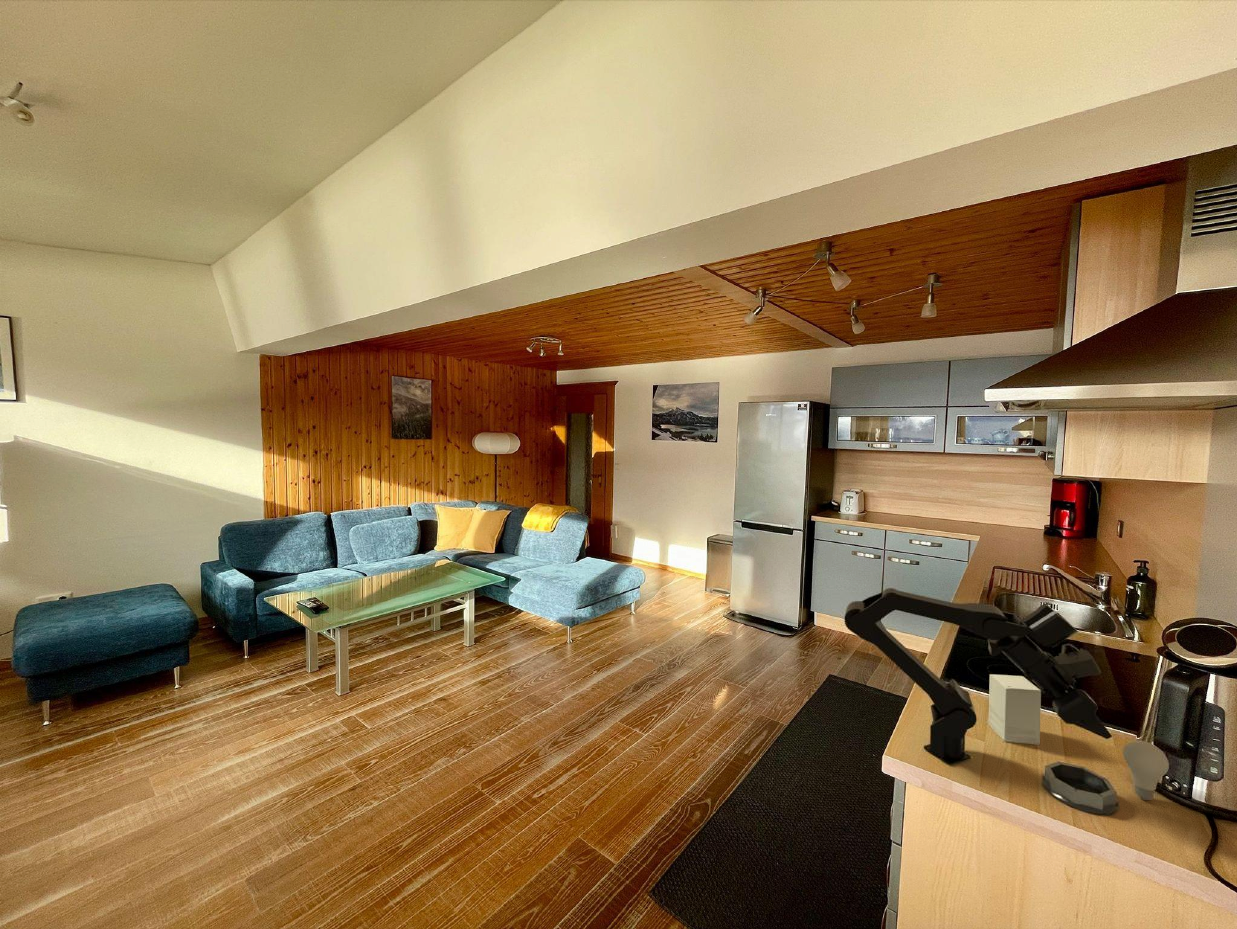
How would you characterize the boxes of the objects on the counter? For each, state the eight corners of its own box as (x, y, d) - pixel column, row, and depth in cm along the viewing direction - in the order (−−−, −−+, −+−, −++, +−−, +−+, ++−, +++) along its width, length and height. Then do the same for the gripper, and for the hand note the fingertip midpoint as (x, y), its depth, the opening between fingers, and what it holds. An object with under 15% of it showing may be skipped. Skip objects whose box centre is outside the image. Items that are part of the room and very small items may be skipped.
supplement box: (1041, 745, 115) (1042, 690, 114) (1003, 742, 116) (1005, 688, 116) (1022, 727, 122) (1023, 675, 121) (987, 724, 124) (988, 673, 123)
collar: (1094, 821, 92) (1095, 804, 92) (1028, 783, 103) (1029, 767, 103) (1132, 806, 96) (1133, 790, 96) (1064, 770, 106) (1065, 755, 106)
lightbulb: (1120, 799, 98) (1123, 743, 97) (1121, 783, 102) (1123, 730, 102) (1167, 815, 94) (1170, 757, 93) (1166, 798, 98) (1168, 742, 97)
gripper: (1084, 655, 93) (1165, 728, 89) (1053, 621, 110) (1120, 681, 106) (1028, 688, 97) (1103, 759, 93) (1007, 650, 114) (1069, 710, 110)
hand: (1100, 724), depth 100 cm, fingers open, 9 cm apart
